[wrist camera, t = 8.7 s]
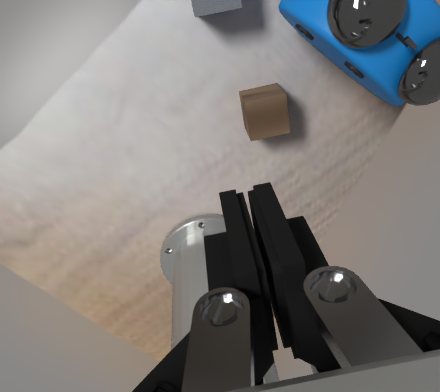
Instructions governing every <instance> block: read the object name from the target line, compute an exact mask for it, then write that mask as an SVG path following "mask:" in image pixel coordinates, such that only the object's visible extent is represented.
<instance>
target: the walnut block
mask: <svg viewBox="0 0 440 392" xmlns="http://www.w3.org/2000/svg"><path fill="white" fill-rule="evenodd" d="M239 95H240V101H241V107H242V113H243V119H244V125H245V129H246V131H247V133H248V136H249V138H250V140H251V141H254V140H259V139H263V138H268V137H273V136H277V135H282V134H287V133H290V124H289V115H288V105H287V96H286V92H285V91H284V90H283V89H282V88H281V87H280V86H279V85H278V84H277V83H275V84H271V85H266V86H262V87H257V88H253V89H248V90H243V91H239Z"/></svg>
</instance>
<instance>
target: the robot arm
mask: <svg viewBox="0 0 440 392" xmlns="http://www.w3.org/2000/svg"><path fill="white" fill-rule="evenodd" d="M253 189H254V190H252V191H248V197H249V203H250V208H251V214H252V220H253V226H254V229H253V226H252V222H251V219H250V215H249V212H248V209H247V205H246V202H245V198H244V195H243V192H242V193H237V194H236V190H230V191H225V192H220V193H219V195H220V200H221V206H222V211H223V215H203V216H197V217H194V218H191V219H188V220H186V221H185V222H183V223H181V224H179V225H178V226H177V227H175V228H174V229H173V230H172V231H171V232H170V233H169V235H168V236H167V237H166V239H165V241H164V243H163V246H162V249H161V258H160V260H161V268H162V270H163V273H164V275H165V277H166V278H167V280H168V281H169V282H170V283H171V284H172V333H171V351H170V352H169V353H168V354H167V355H166V357H165V358H164V359H163V360H162V361H161V362H160V363H159V364H158V365H157V366H156V367H155V368H154V369H153V370H152V371H151V372H150V373H149V374H148V375H147V376H146V378H144V380H143V381H142V382H141V383H140V384H139V385H138V386H137V387H136V388H135V389H134V390H133V391H132V392H440V321H438V320H435V319H433V318H430V317H427V316H424V315H422V314H419V313H416V312H414V311H411V310H408V309H405V308H403V307H400V306H397V305H395V304H392V303H389V302H387V301H384V300H381V299H378V298H377V297H376V296H375V295H374V294H373V293H372V291H371V290H370V289H369V288H368V287H367V286H366V284H365V283H364V282H363V281H362V280H361V279H360V278H359V276H357V275H356V274H355V273H354V272H353V271H350V270H348V269H346V268H343V267H338V266H329V265H328V263H327V261H326V259H325V257H324V255H323V253H322V251H321V249H320V247H319V245H318V243H317V241H316V239H315V237H314V236H313V234H312V232H311V230H310V228H309V226H308V224H307V222H306V220H305V218H304V217H303V216H300V217H295V218H290V219H286V217H285V215H284V213H283V211H282V208H281V206H280V204H279V201H278V199H277V197H276V195H275V192H274V190H273V188H272V185H271V183H270V182H269V183H264V184H259V185H254V186H253ZM201 222H202V223H201ZM270 300H271V301H270ZM271 304H272V307H271ZM272 308H273V311H274V315H275V318H276V322H277V325H278V329H279V332H280V336H281V340H282V343H283V347H284V348H288V347H291V349H292V352H293V355H294V359H296V358H300V359H302V360H303V361H305V362H307V363H309V364H311V368H312V371H313V374H312V375H307V376H302V377H297V378H292V379H288V380H282V381H279V377H278V374H277V370H276V366H275V362H274V357H273V353H272V351H274V350H278V344H277V338H276V332H275V326H274V319H273V313H272Z"/></svg>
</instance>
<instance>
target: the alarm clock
mask: <svg viewBox="0 0 440 392" xmlns="http://www.w3.org/2000/svg"><path fill="white" fill-rule="evenodd" d="M279 11H280V13H281V14H282V15H283V17H284V18H285V19H286V20H287V21H288V22H289V23H290V24H291V25H292V26H293V27H294V28H295V29H296V30H297V31H298V32H299V33H300V34H301V35H302V36H303V37H304V38H305V39H306V40H308V41H309V42H310V43H311V44H312V45H313V46H314V47H315V48H317V49H318V50H319V51H320V52H321V53H322V54H324V55H325V56H326V57H327V58H328V59H329V60H331V61H332V62H333V63H334V64H336V65H337V66H338V67H339V68H340V69H342V70H343V71H344V72H345V73H347V74H348V75H349V76H350V77H352V78H353V79H354V80H356V81H357V82H358V83H360V84H361V85H362V86H364V87H365V88H366V89H368V90H369V91H370V92H372V93H373V94H375V95H376V96H378V97H379V98H381V99H382V100H384V101H385V102H387V103H389V104H391V105H393V106H401V105H403V104H404V103H405V102H407V103H409V104H413V105H427V104H430V103H433V102H436V101H438V100H439V99H440V6H439V5H438V3H437V2H436V1H435V0H281V2H280V4H279Z"/></svg>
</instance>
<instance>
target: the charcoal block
mask: <svg viewBox="0 0 440 392" xmlns="http://www.w3.org/2000/svg"><path fill="white" fill-rule="evenodd" d="M191 2H192V7H193V12H194V15H195V17H199V16H204V15H209V14H214V13H219V12H224V11H229V10H234V9H239V8H242V3H241V0H191Z"/></svg>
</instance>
